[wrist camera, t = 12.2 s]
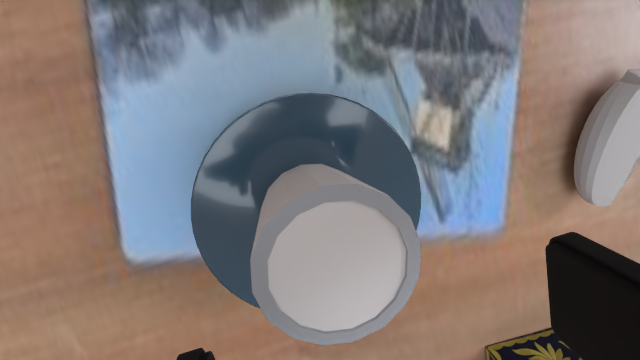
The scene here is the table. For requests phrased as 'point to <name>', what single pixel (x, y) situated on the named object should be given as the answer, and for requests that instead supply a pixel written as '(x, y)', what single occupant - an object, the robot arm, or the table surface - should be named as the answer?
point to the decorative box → (532, 348)
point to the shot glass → (332, 256)
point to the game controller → (609, 142)
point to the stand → (280, 156)
